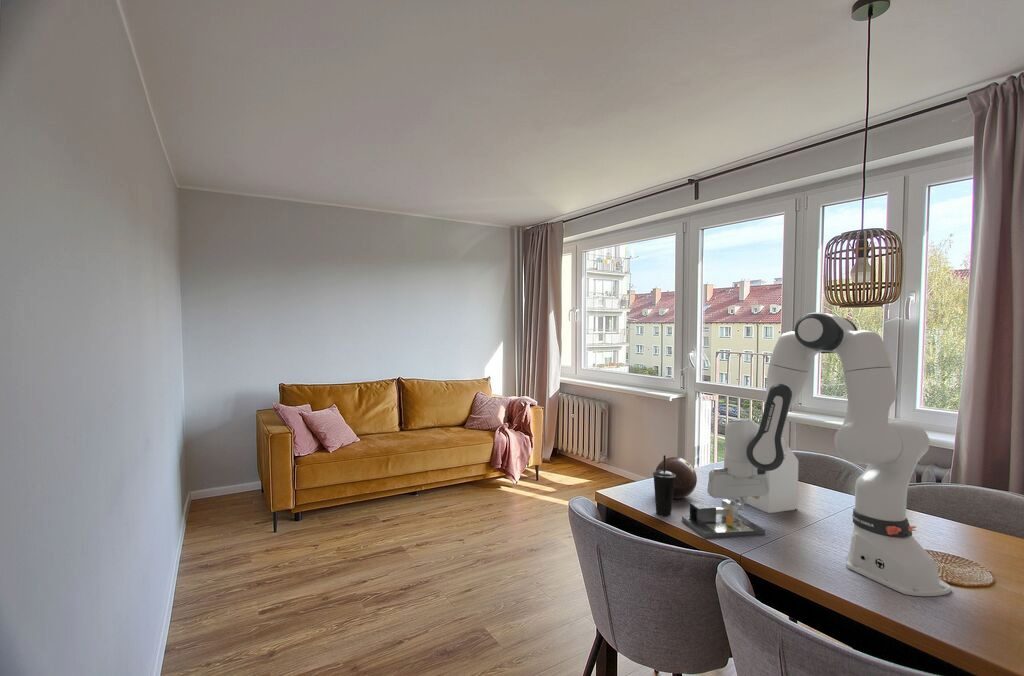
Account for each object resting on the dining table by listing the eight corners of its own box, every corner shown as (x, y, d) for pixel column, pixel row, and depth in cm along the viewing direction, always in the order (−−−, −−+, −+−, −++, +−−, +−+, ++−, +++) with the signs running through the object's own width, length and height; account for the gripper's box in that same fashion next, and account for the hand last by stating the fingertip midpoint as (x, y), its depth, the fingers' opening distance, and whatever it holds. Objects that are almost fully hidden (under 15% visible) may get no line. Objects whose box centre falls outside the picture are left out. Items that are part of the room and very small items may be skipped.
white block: (743, 524, 158) (744, 509, 158) (714, 526, 156) (714, 510, 156) (727, 514, 167) (727, 499, 167) (699, 515, 165) (699, 500, 165)
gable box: (723, 493, 194) (724, 421, 193) (750, 490, 198) (751, 419, 197) (768, 513, 172) (770, 432, 172) (798, 509, 177) (800, 430, 176)
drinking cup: (679, 513, 172) (680, 455, 171) (669, 519, 166) (670, 459, 166) (658, 507, 177) (659, 451, 177) (648, 513, 171) (648, 455, 171)
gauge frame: (764, 534, 155) (765, 514, 154) (704, 538, 151) (705, 517, 151) (737, 517, 168) (737, 498, 168) (681, 520, 165) (682, 501, 165)
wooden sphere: (697, 506, 179) (698, 464, 179) (653, 501, 183) (654, 460, 183) (695, 493, 193) (696, 454, 193) (655, 489, 198) (655, 451, 197)
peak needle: (733, 525, 156) (733, 506, 156) (729, 525, 156) (730, 506, 156) (729, 523, 158) (729, 504, 158) (725, 523, 158) (726, 504, 158)
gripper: (714, 471, 159) (713, 514, 159) (772, 469, 162) (772, 511, 163) (704, 466, 165) (703, 507, 165) (760, 463, 168) (759, 504, 169)
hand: (737, 509), depth 164 cm, fingers closed
